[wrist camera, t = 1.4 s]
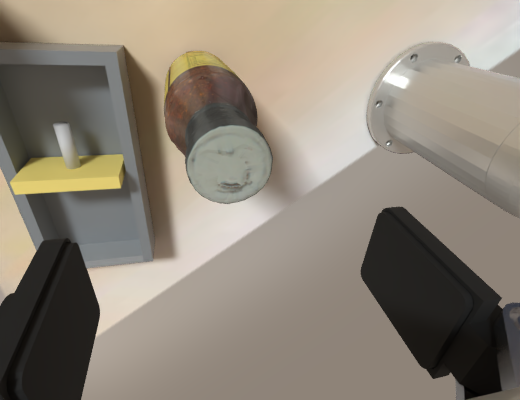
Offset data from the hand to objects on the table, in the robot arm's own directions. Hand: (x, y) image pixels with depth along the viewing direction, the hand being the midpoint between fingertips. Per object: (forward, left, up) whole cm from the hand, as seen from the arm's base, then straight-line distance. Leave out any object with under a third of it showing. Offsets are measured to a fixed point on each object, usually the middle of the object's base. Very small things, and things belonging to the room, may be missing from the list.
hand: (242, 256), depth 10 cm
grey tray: (+12, +8, -25) cm, 29 cm away
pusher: (+12, +5, -24) cm, 27 cm away
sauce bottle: (0, 0, -25) cm, 25 cm away
